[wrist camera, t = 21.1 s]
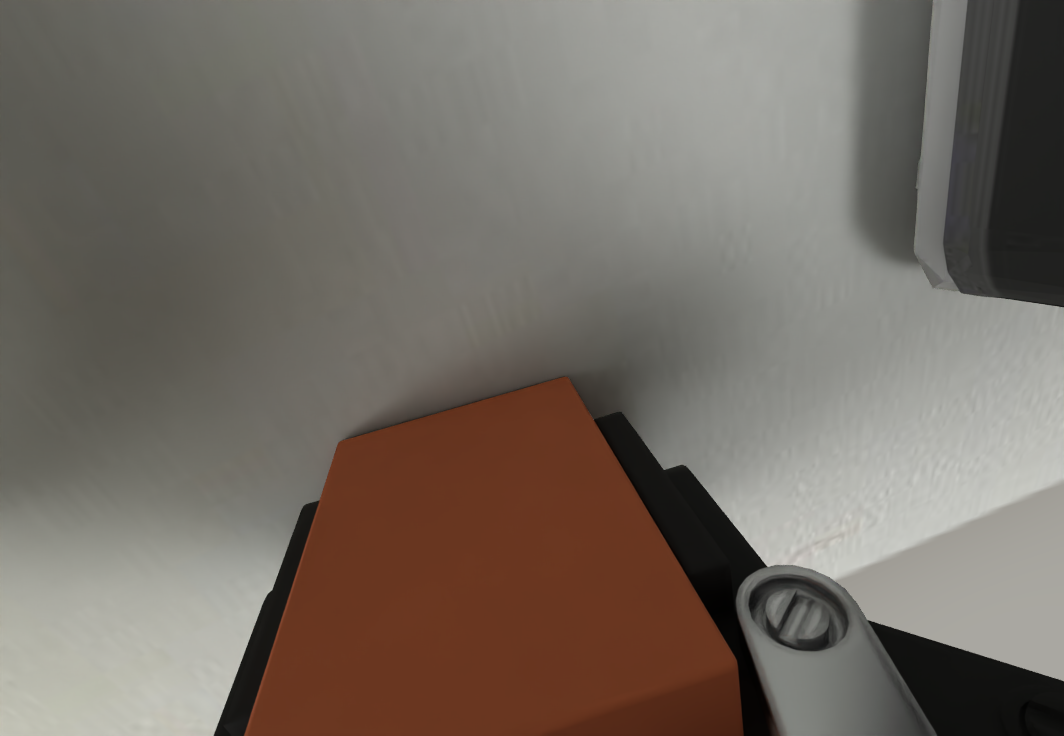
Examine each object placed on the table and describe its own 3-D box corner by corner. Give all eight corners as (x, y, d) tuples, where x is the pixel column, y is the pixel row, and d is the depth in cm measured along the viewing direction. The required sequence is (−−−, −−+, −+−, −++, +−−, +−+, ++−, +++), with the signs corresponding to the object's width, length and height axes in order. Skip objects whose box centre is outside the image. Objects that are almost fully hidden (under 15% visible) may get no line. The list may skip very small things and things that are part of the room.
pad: (413, 606, 11) (396, 1037, 6) (336, 439, 9) (204, 844, 4) (605, 546, 11) (760, 902, 6) (567, 373, 10) (741, 662, 4)
